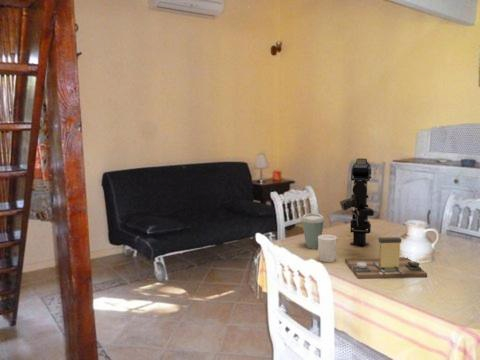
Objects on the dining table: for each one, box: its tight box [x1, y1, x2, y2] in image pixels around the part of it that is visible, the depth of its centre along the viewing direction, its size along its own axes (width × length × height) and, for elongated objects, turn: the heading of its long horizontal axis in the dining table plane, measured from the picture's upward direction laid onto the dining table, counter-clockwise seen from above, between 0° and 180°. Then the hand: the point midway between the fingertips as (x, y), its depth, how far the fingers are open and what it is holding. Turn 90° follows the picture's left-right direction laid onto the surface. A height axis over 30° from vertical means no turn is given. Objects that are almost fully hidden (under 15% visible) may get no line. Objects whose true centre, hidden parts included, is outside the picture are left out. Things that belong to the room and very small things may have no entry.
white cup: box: [317, 234, 338, 263], centre depth 170 cm, size 8×8×10 cm
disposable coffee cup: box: [301, 212, 325, 249], centre depth 188 cm, size 11×11×15 cm
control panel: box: [344, 256, 428, 280], centre depth 158 cm, size 18×26×2 cm
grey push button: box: [357, 262, 367, 269], centre depth 154 cm, size 4×4×1 cm
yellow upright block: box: [378, 236, 402, 272], centre depth 152 cm, size 4×8×13 cm, turn 90°
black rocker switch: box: [408, 261, 420, 267], centre depth 154 cm, size 4×3×1 cm
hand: (359, 227), depth 176 cm, fingers closed
